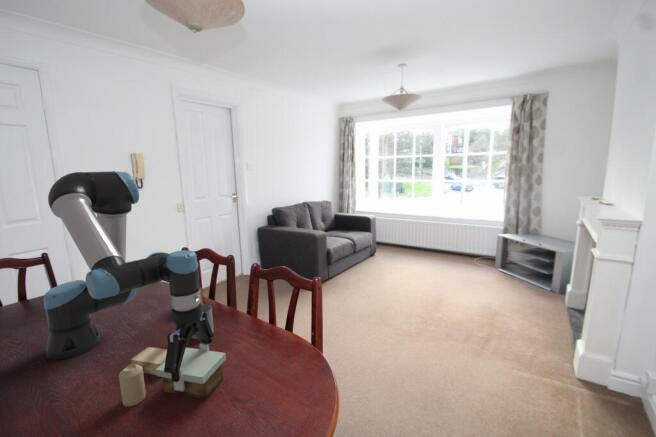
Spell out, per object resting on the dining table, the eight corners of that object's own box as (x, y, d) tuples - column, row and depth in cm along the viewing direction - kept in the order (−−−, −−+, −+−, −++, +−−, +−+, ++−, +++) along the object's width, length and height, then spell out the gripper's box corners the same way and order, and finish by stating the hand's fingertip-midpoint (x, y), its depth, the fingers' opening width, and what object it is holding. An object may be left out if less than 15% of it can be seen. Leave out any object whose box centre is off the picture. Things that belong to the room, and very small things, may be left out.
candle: (129, 392, 87) (125, 361, 85) (149, 391, 87) (145, 360, 85) (118, 407, 81) (113, 374, 80) (139, 406, 82) (135, 372, 80)
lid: (156, 375, 85) (155, 369, 84) (183, 352, 95) (182, 347, 95) (203, 383, 81) (202, 377, 81) (225, 359, 92) (225, 353, 91)
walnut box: (164, 391, 87) (162, 372, 86) (183, 373, 95) (181, 355, 94) (206, 399, 84) (205, 379, 83) (223, 379, 91) (221, 361, 90)
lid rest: (131, 370, 96) (130, 359, 95) (149, 357, 103) (148, 346, 102) (163, 376, 93) (162, 364, 93) (179, 362, 100) (178, 351, 99)
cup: (205, 340, 113) (203, 315, 111) (185, 338, 114) (183, 313, 113) (217, 328, 121) (215, 305, 119) (199, 326, 123) (197, 303, 121)
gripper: (167, 328, 73) (176, 408, 77) (222, 290, 95) (226, 353, 99) (141, 325, 75) (151, 403, 78) (201, 288, 97) (206, 350, 101)
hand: (193, 375), depth 89 cm, fingers closed on lid, 11 cm apart
